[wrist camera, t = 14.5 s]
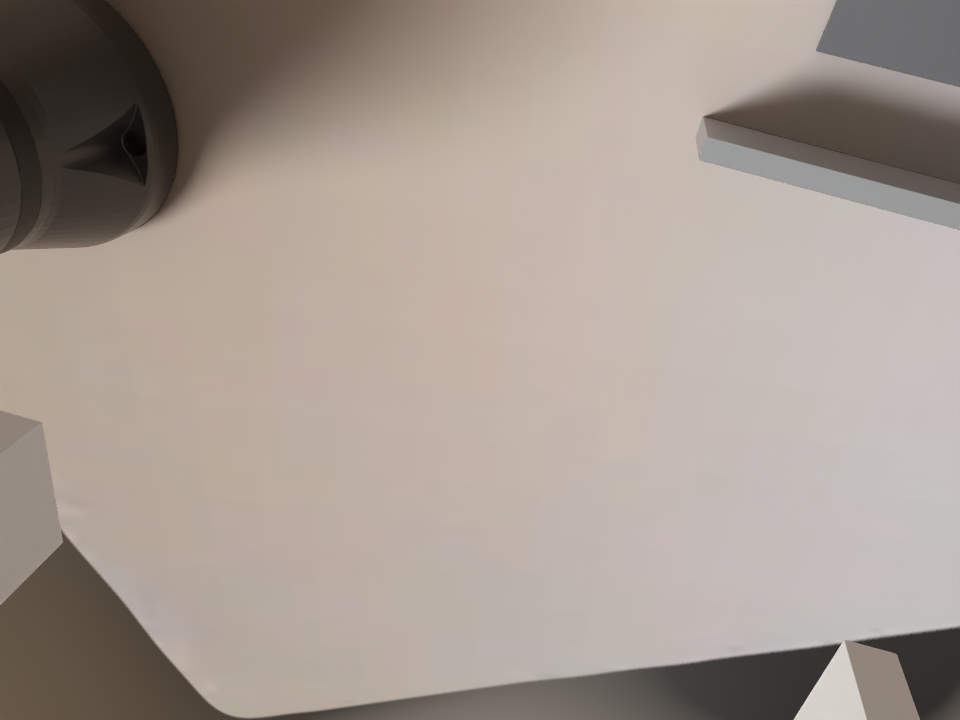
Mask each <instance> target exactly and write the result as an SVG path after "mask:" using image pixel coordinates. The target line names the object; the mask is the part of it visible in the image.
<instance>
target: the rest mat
mask: <svg viewBox="0 0 960 720" xmlns="http://www.w3.org/2000/svg"><path fill="white" fill-rule="evenodd" d="M816 51H818V52H822V53H826V54H830V55H834V56H838V57H842V58H846V59H850V60H854V61H858V62H862V63H866V64H870V65H874V66H878V67H882V68H886V69H890V70H894V71H898V72H902V73H906V74H910V75H914V76H918V77H922V78H926V79H930V80H934V81H938V82H942V83H946V84H950V85H954V86H958V87H960V0H837V1H836V3H835V6H834V8H833V11H832V13H831V16H830V18H829V20H828V23H827V25H826V28H825V30H824V32H823V35H822V37H821V40H820V42H819V44H818V47H817V49H816Z"/></svg>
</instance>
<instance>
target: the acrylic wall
mask: <svg viewBox="0 0 960 720" xmlns="http://www.w3.org/2000/svg"><path fill="white" fill-rule="evenodd" d="M696 141H697V147H698V154H699V160H701V161H705V162H708V163H712V164H716V165H720V166H723V167H727V168H731V169H735V170H738V171H742V172H746V173H749V174H753V175H757V176H761V177H764V178H768V179H772V180H775V181H779V182H783V183H787V184H790V185H794V186H798V187H802V188H805V189H809V190H813V191H816V192H820V193H824V194H828V195H831V196H835V197H839V198H842V199H846V200H850V201H854V202H857V203H861V204H865V205H868V206H872V207H876V208H880V209H883V210H887V211H891V212H895V213H898V214H902V215H906V216H909V217H913V218H917V219H921V220H924V221H928V222H932V223H935V224H939V225H943V226H947V227H950V228H954V229H958V230H960V184H957V183H953V182H950V181H946V180H942V179H938V178H934V177H931V176H927V175H923V174H919V173H915V172H912V171H908V170H904V169H900V168H896V167H893V166H889V165H885V164H881V163H877V162H874V161H870V160H866V159H862V158H858V157H854V156H851V155H847V154H843V153H839V152H835V151H832V150H828V149H824V148H820V147H816V146H813V145H809V144H805V143H801V142H797V141H794V140H790V139H786V138H782V137H778V136H775V135H771V134H767V133H763V132H759V131H756V130H752V129H748V128H744V127H740V126H737V125H733V124H729V123H725V122H721V121H718V120H714V119H710V118H706V117H703V119H702V121H701V124H700V127H699V130H698V133H697V136H696Z"/></svg>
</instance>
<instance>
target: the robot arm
mask: <svg viewBox="0 0 960 720" xmlns="http://www.w3.org/2000/svg"><path fill="white" fill-rule="evenodd" d="M176 163H177V131H176V124H175V118H174V113H173V109H172V105H171V102H170V99H169V96H168V92H167V90H166V87H165V85H164V82H163V80H162V77H161V75H160V73H159V71H158V69H157V67H156V65H155V63H154V61H153V59H152V58H151V56H150V54H149V53H148V51H147V50H146V48H145V47H144V45H143V44H142V42H141V41H140V39H139V38H138V37H137V35H136V34H135V33H134V31H133V30H132V29H131V28H130V27H129V25H128V24H127V23H126V22H125V21H124V20H123V19H122V18H121V17H120V16H119V15H118V13H116V12H115V11H114V10H113V9H112V8H111V7H110V6H109V5H108V4H107V3H105V2H104V1H103V0H0V254H1V253H4V252H7V251H9V250H17V249H49V248H79V247H89V246H95V245H99V244H102V243H106V242H109V241H111V240H114V239H116V238H118V237H120V236H122V235H124V234H126V233H128V232H130V231H132V230H134V229H136V228H138V227H140V226H141V225H143V224H144V223H145V222H147V221H148V220H149V219H150V218H151V217H152V216H153V215H154V214H155V213H156V212H157V211H158V209H159V208H160V207H161V205H162V204H163V202H164V201H165V199H166V197H167V195H168V193H169V190H170V188H171V185H172V182H173V179H174V174H175V170H176ZM62 542H63V541H62V535H61V529H60V523H59V517H58V512H57V506H56V500H55V494H54V489H53V483H52V477H51V471H50V466H49V460H48V454H47V449H46V443H45V437H44V431H43V426H42V422H39V421H36V420H32V419H28V418H25V417H21V416H17V415H14V414H10V413H6V412H3V411H0V605H1V604H2V603H3V602H4V601H5V600H6V599H7V598H8V597H9V595H10V594H12V593H13V592H14V591H15V590H16V588H18V587H19V586H20V584H22V583H23V582H24V581H25V580H26V579H27V577H29V576H30V575H31V574H32V573H33V571H35V570H36V569H37V567H38V566H40V565H41V564H42V563H43V562H44V561H45V560H46V559H47V558H48V557H49V556H50V555H51V553H53V552H54V550H56V549H57V547H59V546H60V544H62ZM794 720H920V719H919V716H918V713H917V711H916V708H915V705H914V702H913V700H912V696H911V694H910V691H909V688H908V685H907V682H906V680H905V677H904V674H903V671H902V668H901V665H900V663H899V660H898V657H897V654H894V653H891V652H887V651H883V650H879V649H876V648H872V647H869V646H865V645H861V644H857V643H854V642H850V641H846V640H844V641H843V643H842V644H841V646H840V647H839V649H838V651H837V652H836V654H835V655H834V657H833V659H832V660H831V662H830V663H829V665H828V667H827V668H826V670H825V671H824V673H823V674H822V676H821V677H820V679H819V681H818V682H817V684H816V685H815V687H814V688H813V690H812V692H811V693H810V695H809V696H808V698H807V700H806V701H805V703H804V704H803V706H802V707H801V709H800V711H799V712H798V714H797V716H796V717H795V719H794Z"/></svg>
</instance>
